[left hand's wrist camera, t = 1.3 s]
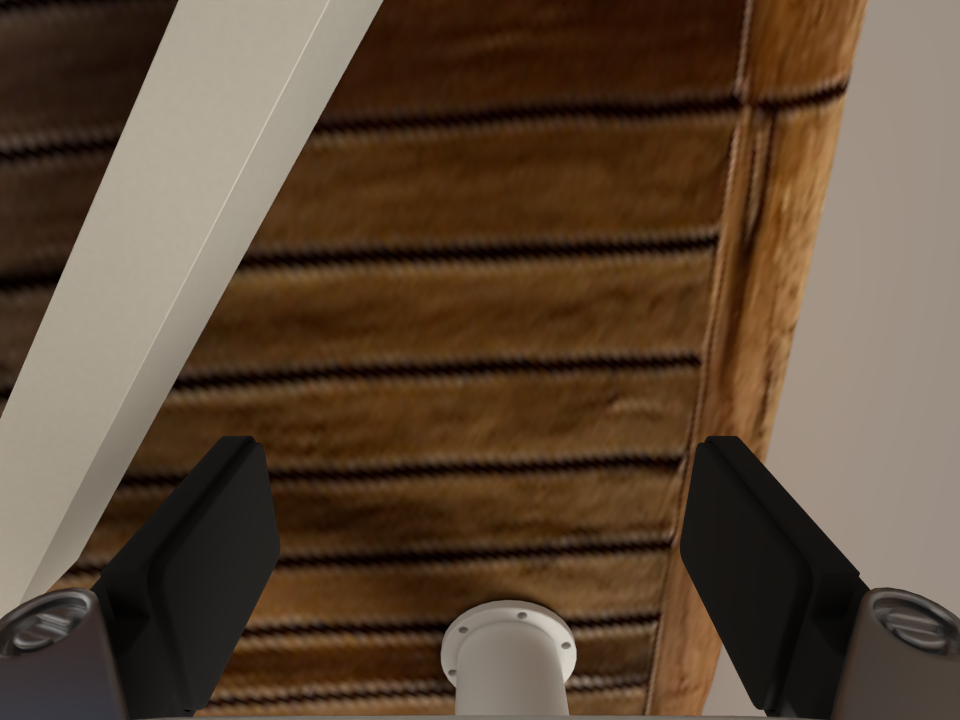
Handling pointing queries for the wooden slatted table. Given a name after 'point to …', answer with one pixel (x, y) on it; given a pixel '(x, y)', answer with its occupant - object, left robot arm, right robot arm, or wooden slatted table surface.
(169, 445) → the wooden slatted table surface
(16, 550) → the post
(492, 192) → the wooden slatted table surface
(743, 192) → the wooden slatted table surface
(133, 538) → the left robot arm
